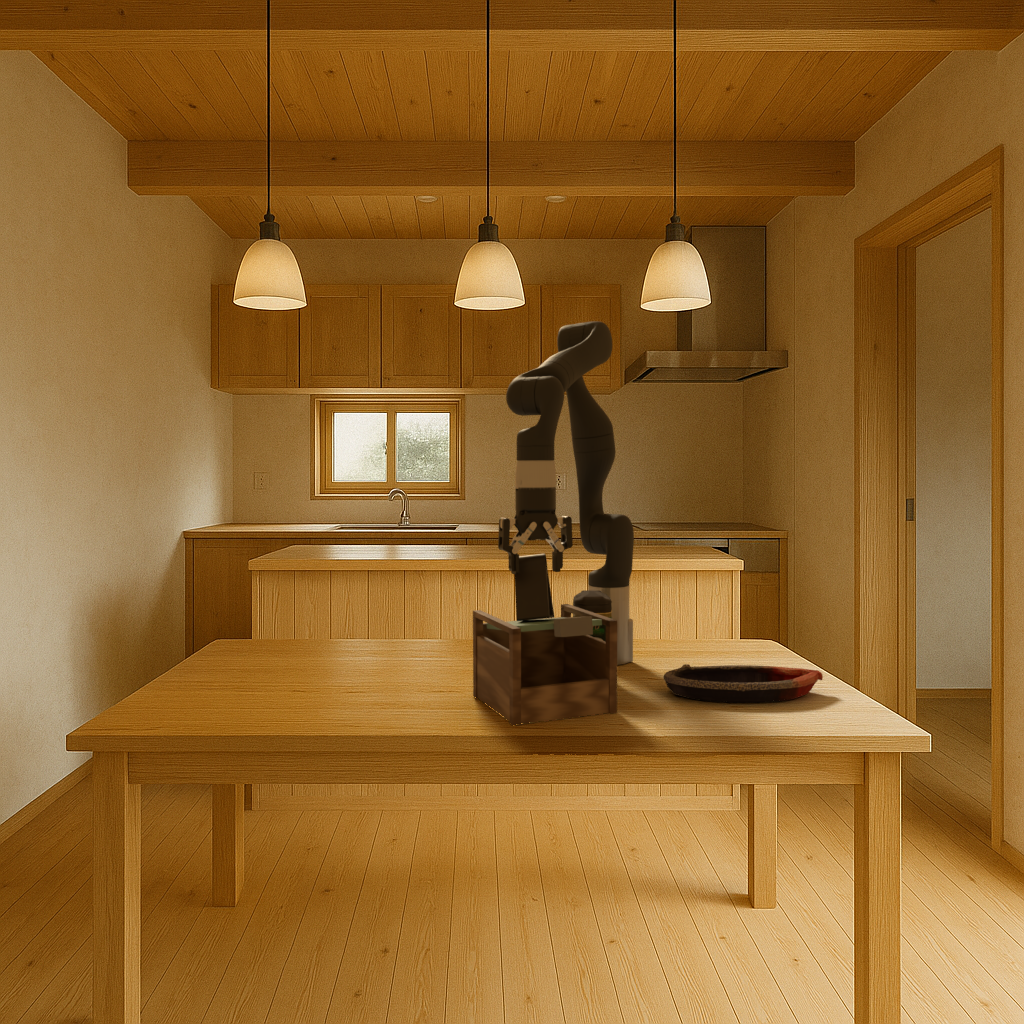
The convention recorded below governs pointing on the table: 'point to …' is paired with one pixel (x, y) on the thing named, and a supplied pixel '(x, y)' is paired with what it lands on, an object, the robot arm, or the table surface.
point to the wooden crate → (544, 670)
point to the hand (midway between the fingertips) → (535, 572)
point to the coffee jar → (595, 608)
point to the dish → (741, 683)
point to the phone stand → (533, 589)
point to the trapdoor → (558, 625)
